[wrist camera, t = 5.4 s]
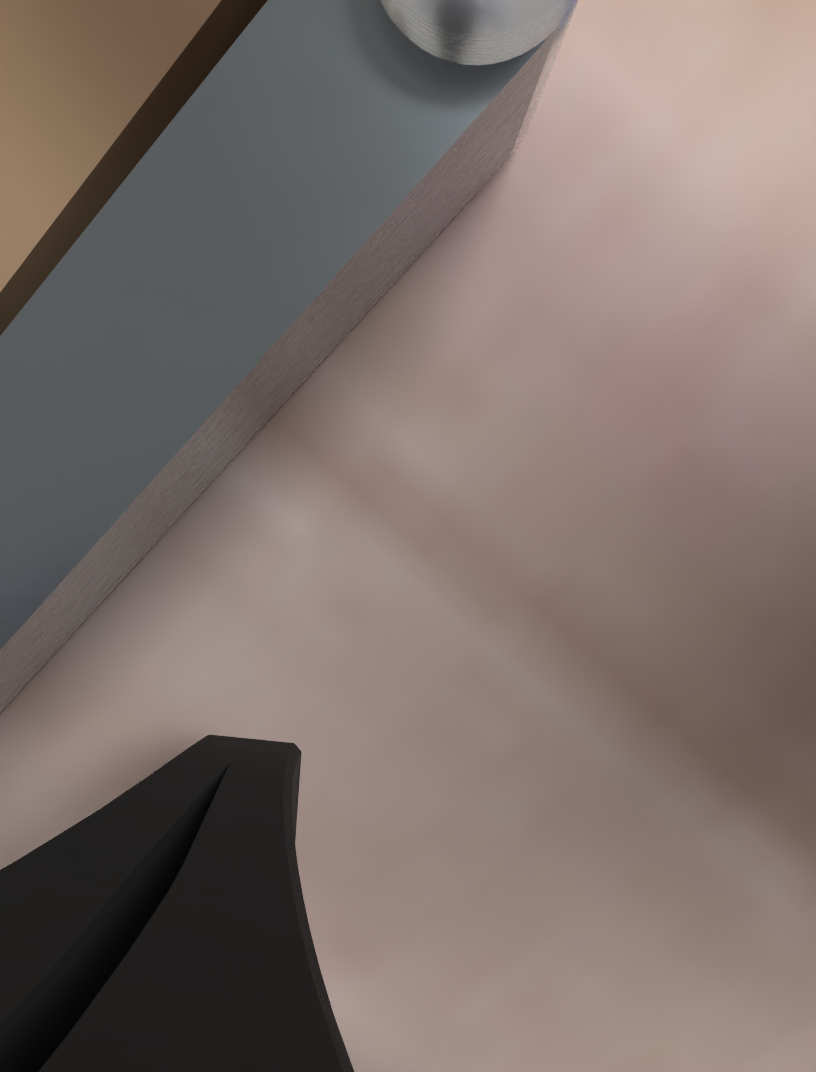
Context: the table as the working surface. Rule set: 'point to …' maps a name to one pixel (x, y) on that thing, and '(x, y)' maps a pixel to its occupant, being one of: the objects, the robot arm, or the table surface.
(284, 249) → the hinged leg
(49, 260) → the stool seat
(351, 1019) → the table surface
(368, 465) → the table surface
